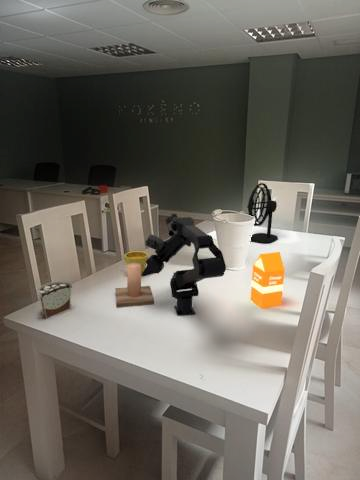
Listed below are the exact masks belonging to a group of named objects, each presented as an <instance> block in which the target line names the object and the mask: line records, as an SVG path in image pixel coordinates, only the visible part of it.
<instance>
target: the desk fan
mask: <svg viewBox="0 0 360 480" xmlns="http://www.w3.org/2000/svg"><path fill="white" fill-rule="evenodd" d="M258 189H259V190H258ZM257 190H258V192H257ZM264 190H265V191H266V193H265V191H264ZM270 191H271V190H269V188H268V185H267V184H266V183H263V182H260V183H258V184H257V185H256V186H255V188H254V189H253V190H252V191H251V194H250V197H249V199H248V203H247V207H246V208H247V213H248V216H249V215H251V216H253V217H254V220H255V224H254V225H253V226H254V227H255V226H256V227H259V226H261V225H263V224H264V223H265V222H266V219H267V227H266V233H265V232H256V233H252V234H251V235H252V237H251V242H256V243H260V244H270V243H272V242H275V241H276V240H278V238H279V237H278V235H276V234H271V232H272V221H273V213H275V211H277V206H278V205H277V201H276V200H273V199H272V195H271V192H270ZM261 193H262V199H261V201H260V195H261ZM255 194H256V197H255ZM254 198H255V200H254ZM264 209H265V211H264ZM258 210H260V214H259V215H258V216H257V212H258ZM253 211H254V212H253ZM263 213H264V215H263ZM260 219H261V220H260Z"/></svg>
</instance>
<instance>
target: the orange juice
mask: <svg viewBox="0 0 360 480" xmlns="http://www.w3.org/2000/svg"><path fill="white" fill-rule="evenodd" d="M251 275H252V276H251V284H250V285H251V290H250V301H251V300H252V301H253V302H254V303H253V302H252V301H251V302H252V303H253V304H254V305H255V306H259V308H260V309H261V308H263V309H267V308H266V307H268V308H272V307H271V306H274V307H277V306H276V305H280V306H282V298H283V290H284V280H285V266H284V263H283V259H282V256H281V252H280V251H276V252H267V253H260V254H259V256H258V257H257V258H256V260H255V262H254V263H253V265H252V273H251Z"/></svg>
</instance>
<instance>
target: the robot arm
mask: <svg viewBox="0 0 360 480" xmlns="http://www.w3.org/2000/svg"><path fill="white" fill-rule="evenodd" d="M164 225H165V228H166V230H167V233H168V236H169V238H168V239H166V240H163V239H162V238H160V237H158V236H156V235H154V234H150V235H149V236H148V237H147V239H146V241H145V243H144V244H145V246H146V247H149V249H150V248H151V249H153V250H155V251H154V253H155V254H151V255H150V256H148V259H147V260H146V267H145V270H144V271H143V273H142V274H141V275H142V276H141V277H146V276H151V275H155V274H160V273H161V272H162V271H163V270H164V268H165V263H166V264H167V263H168V262H169V261H170V260H171V259H172V258H173V257H175V256H176V255H177V253H179V252H180V251H181V249H183V248H184V247H185V246H187V247H189V248H190V247H191V246H192V245H193V246H194V253H193V256H192V259H191V260H192V264H193V268H191V269H182V270H176V271H175V272H173V273H172V274H173V275H172V276H171V277H170V282H169V286H170V291H171V292H170V293H171V297H172V298H174V299H175V300H176V305H174V307H173V308H174V310H175V313H176V315H177V316H185V315H186V316H187V315H195V314H196V311H195V309H194V307H193V304H194V303H193V298H194V297H198V296H199V293H200V292H199V288H198V284H197V283H198V282H200V281H203V280H205V279H212V278H219V277H223V276H224V275H225V272H226V269H227V267H226V266H227V265H226V262H225V258H224V253H223V252H222V251H221V249H219V247H218V246H217V245H216V244H215V242H214V239H213V236H212V234H211V235H210V234H207V233H205V231H203V230H202V229H200V228H199V227H197V226H196V225H195V220H194V219H193V218H192V217H191V216H183V217H182V216H179V217H178V215H177V213H172V214H170V216H168V217H167V218H166V219H165V220H164ZM200 249H203V250H204V249H208V250H209V251H210V252H211V253H212V255H213V256H214V257H205V258H199V256H198V253H199V251H200Z"/></svg>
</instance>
